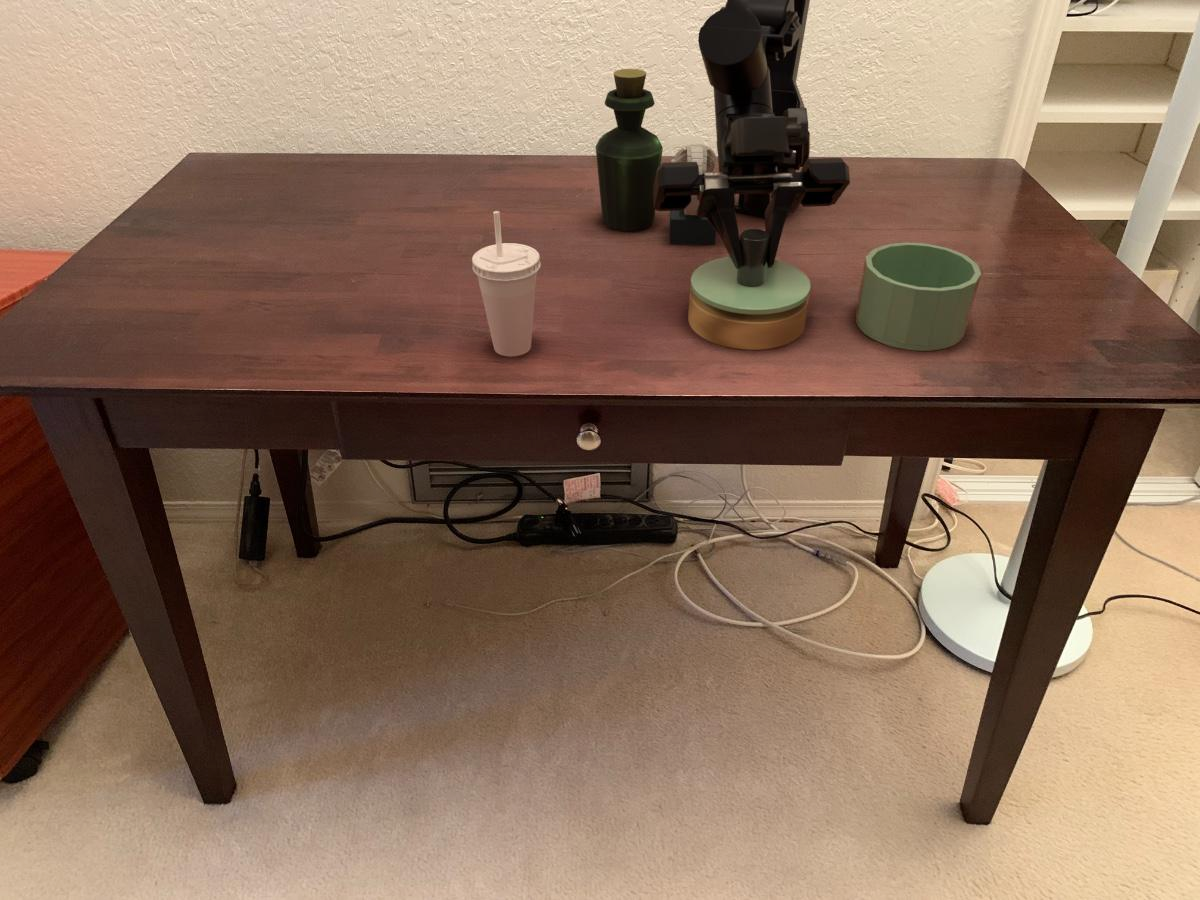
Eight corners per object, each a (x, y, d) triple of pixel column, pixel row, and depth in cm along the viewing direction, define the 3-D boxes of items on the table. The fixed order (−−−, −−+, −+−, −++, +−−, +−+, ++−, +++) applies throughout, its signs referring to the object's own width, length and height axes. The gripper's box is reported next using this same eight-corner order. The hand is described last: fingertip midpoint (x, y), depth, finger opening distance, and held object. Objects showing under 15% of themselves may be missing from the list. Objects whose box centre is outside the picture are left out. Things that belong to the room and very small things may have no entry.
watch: (712, 224, 114) (719, 136, 108) (716, 250, 108) (722, 159, 101) (668, 223, 115) (671, 135, 108) (668, 250, 108) (672, 158, 102)
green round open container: (840, 333, 92) (850, 273, 88) (874, 291, 99) (885, 234, 95) (948, 361, 87) (964, 300, 83) (976, 315, 95) (991, 257, 91)
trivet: (667, 330, 93) (668, 304, 91) (718, 284, 101) (720, 259, 99) (777, 361, 88) (780, 334, 86) (821, 311, 96) (826, 285, 94)
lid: (669, 301, 91) (671, 243, 87) (721, 256, 99) (725, 202, 95) (781, 331, 86) (788, 271, 82) (826, 282, 94) (835, 225, 90)
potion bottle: (583, 220, 116) (580, 72, 105) (630, 204, 120) (632, 60, 109) (626, 240, 111) (627, 86, 100) (673, 222, 115) (680, 73, 104)
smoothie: (480, 332, 93) (468, 200, 84) (543, 329, 93) (537, 197, 85) (479, 365, 87) (465, 227, 79) (546, 362, 88) (539, 224, 80)
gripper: (659, 76, 83) (669, 239, 81) (860, 71, 84) (875, 233, 82) (649, 135, 94) (657, 280, 92) (827, 130, 95) (839, 274, 93)
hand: (754, 267), depth 89 cm, fingers closed on lid, 3 cm apart
